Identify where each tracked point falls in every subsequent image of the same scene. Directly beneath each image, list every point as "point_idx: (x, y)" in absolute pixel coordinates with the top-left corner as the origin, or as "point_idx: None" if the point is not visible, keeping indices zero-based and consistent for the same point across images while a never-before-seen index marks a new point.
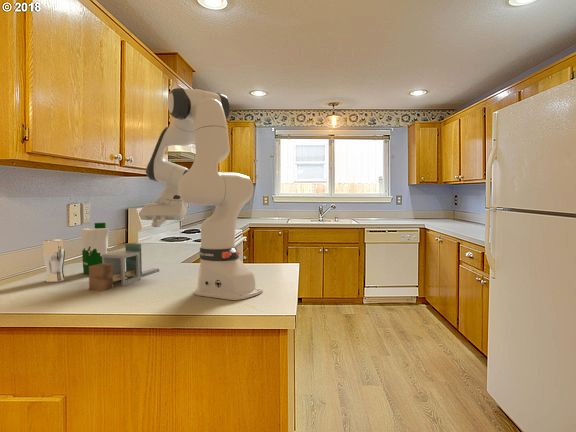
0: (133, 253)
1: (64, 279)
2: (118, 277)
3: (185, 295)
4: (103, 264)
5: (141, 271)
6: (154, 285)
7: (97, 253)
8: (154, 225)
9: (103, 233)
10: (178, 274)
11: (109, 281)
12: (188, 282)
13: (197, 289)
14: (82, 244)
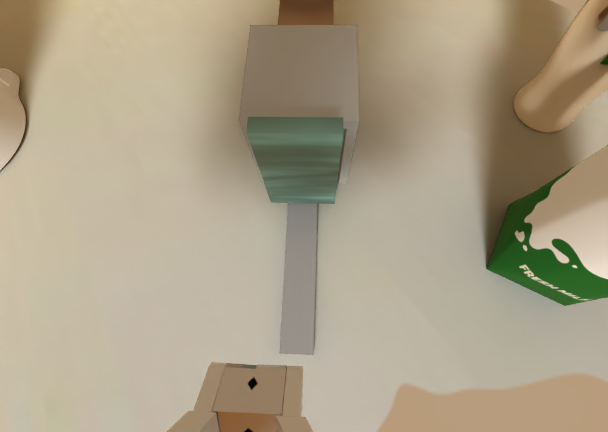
0: (243, 82)
1: (519, 117)
2: None
3: (46, 71)
4: (308, 16)
5: (269, 195)
6: (175, 134)
7: (550, 185)
8: (262, 367)
9: None
10: (161, 306)
11: None
12: (77, 193)
13: (8, 84)
14: None
